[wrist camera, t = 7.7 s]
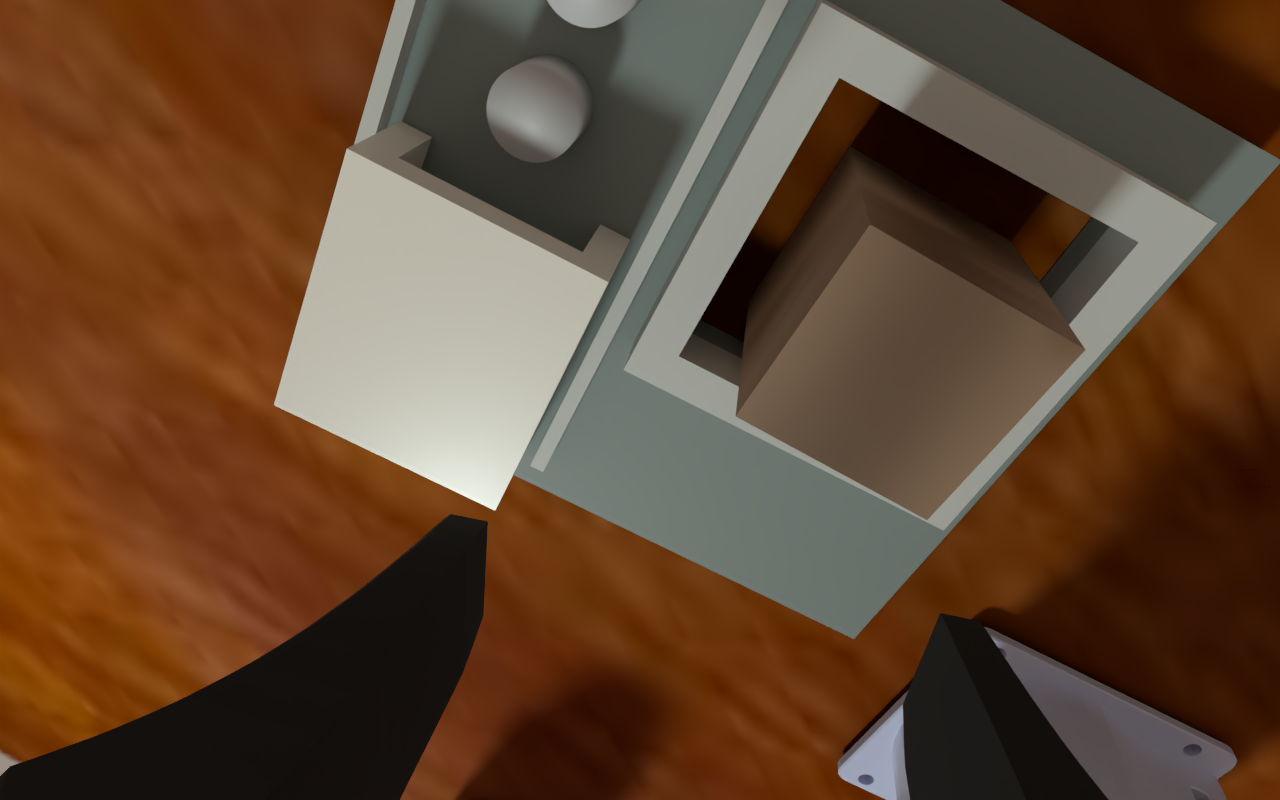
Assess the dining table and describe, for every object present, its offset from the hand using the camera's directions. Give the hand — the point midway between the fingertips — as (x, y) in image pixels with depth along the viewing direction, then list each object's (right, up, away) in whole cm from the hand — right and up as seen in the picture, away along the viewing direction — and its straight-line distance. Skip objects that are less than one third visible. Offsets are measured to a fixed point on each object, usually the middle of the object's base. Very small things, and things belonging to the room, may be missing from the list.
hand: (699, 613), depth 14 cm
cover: (-5, +6, +8) cm, 12 cm away
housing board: (+1, +7, +8) cm, 11 cm away
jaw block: (+5, +7, +8) cm, 11 cm away
